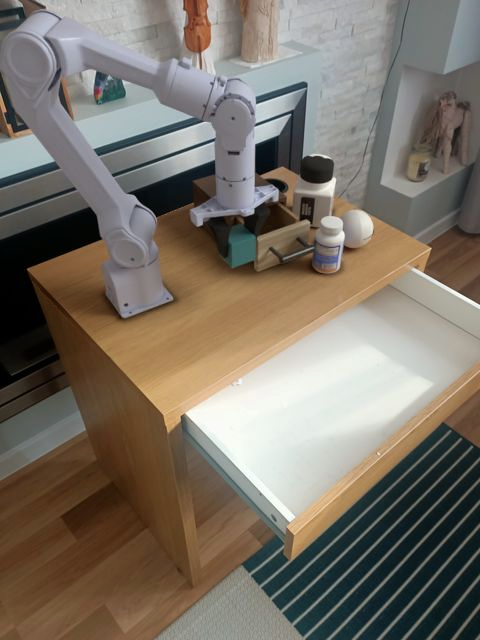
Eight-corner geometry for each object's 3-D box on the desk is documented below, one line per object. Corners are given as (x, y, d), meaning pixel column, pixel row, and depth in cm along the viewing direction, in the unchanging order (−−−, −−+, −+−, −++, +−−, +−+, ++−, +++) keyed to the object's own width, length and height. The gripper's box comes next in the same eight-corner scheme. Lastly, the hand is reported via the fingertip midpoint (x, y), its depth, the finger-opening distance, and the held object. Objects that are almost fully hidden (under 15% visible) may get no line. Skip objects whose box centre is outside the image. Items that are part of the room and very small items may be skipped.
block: (231, 268, 89) (231, 245, 86) (218, 254, 92) (217, 231, 88) (255, 259, 91) (255, 236, 88) (241, 246, 93) (241, 223, 90)
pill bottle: (321, 254, 108) (326, 209, 101) (345, 264, 105) (352, 219, 99) (306, 267, 104) (310, 222, 98) (330, 278, 102) (337, 233, 95)
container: (328, 229, 114) (335, 170, 104) (291, 224, 115) (295, 165, 105) (332, 210, 119) (339, 152, 110) (296, 205, 120) (301, 147, 111)
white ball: (355, 260, 106) (361, 227, 101) (325, 244, 110) (329, 211, 105) (386, 240, 111) (393, 208, 106) (356, 225, 115) (362, 193, 110)
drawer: (322, 265, 104) (326, 234, 99) (272, 285, 99) (273, 254, 94) (268, 220, 114) (269, 190, 109) (220, 236, 110) (219, 205, 105)
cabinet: (284, 234, 112) (286, 196, 106) (231, 253, 107) (230, 214, 101) (246, 202, 120) (246, 165, 114) (195, 218, 115) (192, 180, 109)
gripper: (204, 197, 75) (209, 277, 85) (291, 171, 81) (286, 248, 91) (180, 175, 79) (187, 253, 89) (265, 152, 85) (263, 228, 95)
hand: (236, 249), depth 90 cm, fingers closed on block, 4 cm apart
